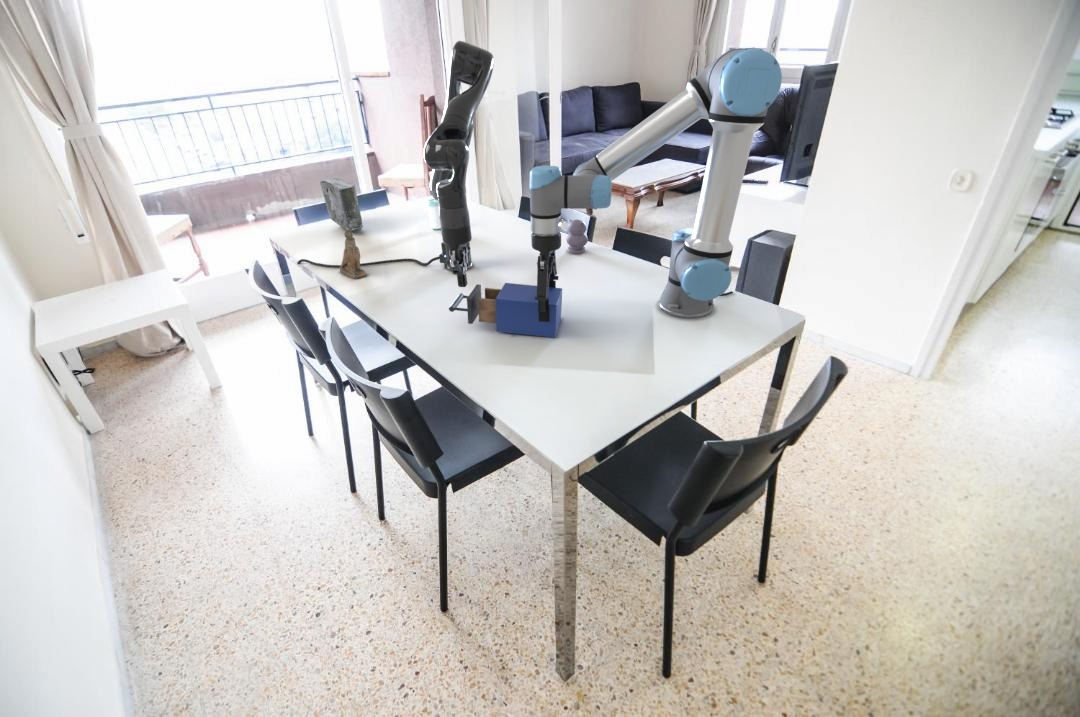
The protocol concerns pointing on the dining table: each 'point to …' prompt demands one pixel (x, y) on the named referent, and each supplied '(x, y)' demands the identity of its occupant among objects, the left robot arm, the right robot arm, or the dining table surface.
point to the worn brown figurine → (351, 258)
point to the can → (434, 214)
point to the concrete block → (342, 203)
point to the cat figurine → (576, 236)
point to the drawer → (478, 305)
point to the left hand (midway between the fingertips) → (463, 285)
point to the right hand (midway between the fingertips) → (547, 311)
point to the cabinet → (526, 310)
